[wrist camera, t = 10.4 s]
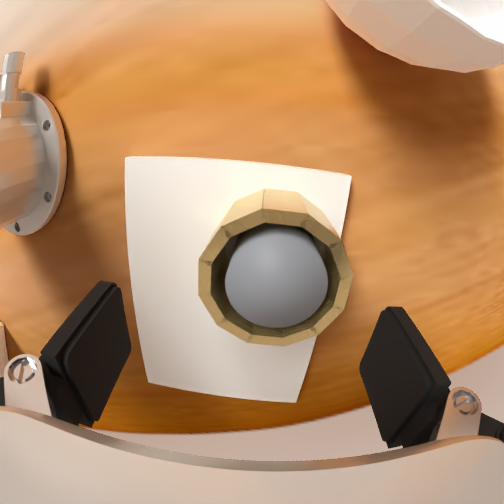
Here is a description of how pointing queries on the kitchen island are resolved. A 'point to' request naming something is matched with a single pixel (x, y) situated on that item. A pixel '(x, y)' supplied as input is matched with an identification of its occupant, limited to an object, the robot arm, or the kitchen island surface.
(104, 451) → the robot arm
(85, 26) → the kitchen island surface
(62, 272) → the kitchen island surface
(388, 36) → the cup
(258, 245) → the stand
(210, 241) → the brass ring
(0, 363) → the coffeecake box
